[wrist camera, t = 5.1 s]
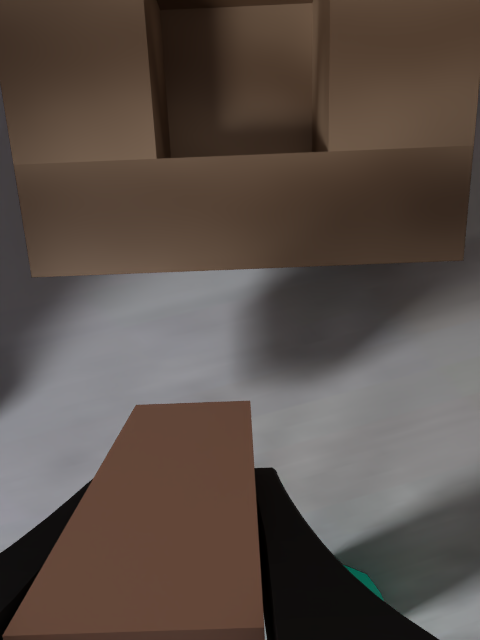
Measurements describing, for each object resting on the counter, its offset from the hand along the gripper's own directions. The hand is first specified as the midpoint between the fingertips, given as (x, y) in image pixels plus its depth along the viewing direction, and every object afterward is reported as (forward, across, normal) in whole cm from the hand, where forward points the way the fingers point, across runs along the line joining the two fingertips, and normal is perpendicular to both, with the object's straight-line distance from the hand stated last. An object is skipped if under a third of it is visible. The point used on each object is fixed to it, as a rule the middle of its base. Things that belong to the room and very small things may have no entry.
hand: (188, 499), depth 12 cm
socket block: (+7, -2, -13) cm, 15 cm away
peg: (+2, 0, 0) cm, 2 cm away
